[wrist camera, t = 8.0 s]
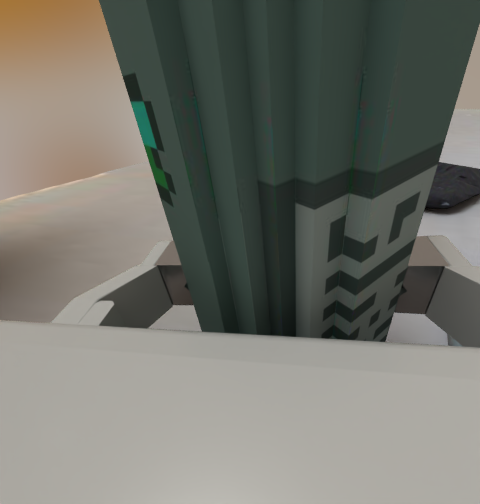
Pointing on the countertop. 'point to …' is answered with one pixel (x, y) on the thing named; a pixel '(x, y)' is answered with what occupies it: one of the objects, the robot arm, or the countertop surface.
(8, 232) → the countertop surface
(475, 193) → the dark slate chunk
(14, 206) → the countertop surface
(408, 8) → the can
